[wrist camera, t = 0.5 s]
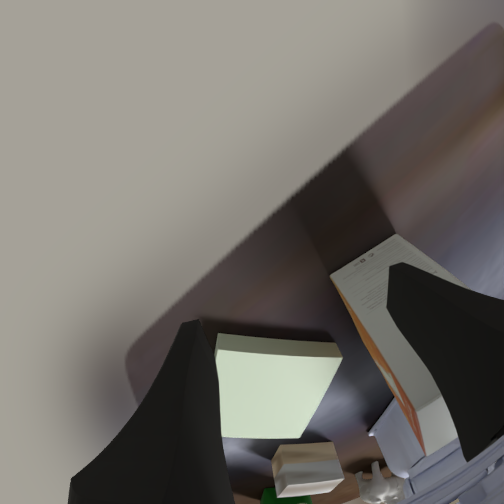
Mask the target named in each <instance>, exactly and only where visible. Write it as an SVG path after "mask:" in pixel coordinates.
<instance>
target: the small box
mask: <svg viewBox="0 0 504 504" xmlns="http://www.w3.org/2000/svg"><path fill="white" fill-rule="evenodd" d="M400 262H404V263H407V264H409V265H412V266H415V267H417V268H419V269H422V270H424V271H426V272H429V273H431V274H433V275H435V276H438V277H440V278H442V279H445V280H447V281H449V282H452V283H454V284H457V285H459V286H462V287H464V288H467V289H469V290H471V289H470V288H468V287H467V286H466V285H465V284H463V283H462V282H461V281H460V280H458V279H457V278H456V277H455V276H453V275H452V274H451V273H449V272H448V271H447V270H445V269H444V268H443V267H441V266H440V265H439V264H437V263H436V262H435V261H433V260H432V259H431V258H429V257H428V256H427V255H425V254H424V253H423V252H421V251H420V250H419V249H417V248H416V247H415V246H413V245H412V244H410V243H409V242H408V241H406V240H405V239H403V238H402V237H401V236H399V235H398V234H394V235H393V236H391V237H390V238H388V239H387V240H385V241H383V242H382V243H380V244H379V245H377V246H376V247H374V248H373V249H371V250H369V251H368V252H366V253H365V254H363V255H361V256H360V257H358V258H357V259H355V260H353V261H352V262H350V263H349V264H347V265H345V266H344V267H342V268H341V269H339V270H337V271H336V272H334V273H332V274H331V275H330V279H331V280H332V282H333V284H334V285H335V287H336V289H337V290H338V292H339V294H340V296H341V298H342V300H343V302H344V304H345V306H346V308H347V310H348V311H349V313H350V315H351V317H352V320H353V322H354V324H355V326H356V328H357V330H358V332H359V335H360V337H361V339H362V341H363V343H364V345H365V346H366V348H367V349H368V351H369V353H370V355H371V356H372V358H373V360H374V361H375V363H376V365H377V367H378V368H379V370H380V371H381V373H382V375H383V377H384V378H385V380H386V382H387V384H388V386H389V388H390V389H391V391H392V393H393V395H394V396H395V398H396V400H397V402H398V404H399V406H400V408H401V410H402V411H403V413H404V415H405V417H406V419H407V421H408V422H409V424H410V426H411V428H412V430H413V432H414V434H415V436H416V438H417V440H418V442H419V444H420V446H421V448H422V450H423V452H424V454H425V456H429V455H430V454H432V453H434V452H435V451H437V450H439V449H440V448H442V447H443V446H445V445H446V444H448V443H449V442H451V441H452V440H454V439H455V438H457V437H458V435H457V431H456V428H455V426H454V423H453V420H452V418H451V415H450V412H449V410H448V408H447V405H446V403H445V401H444V399H443V397H442V395H441V392H440V390H439V389H438V387H437V385H436V383H435V381H434V379H433V377H432V375H431V374H430V372H429V370H428V369H427V367H426V366H425V365H424V363H423V362H422V360H421V359H420V358H419V356H418V355H417V354H416V352H415V351H414V350H413V348H412V347H411V345H410V344H409V343H408V341H407V340H406V339H405V337H404V336H403V335H402V333H401V332H400V331H399V329H398V328H397V326H396V324H395V323H394V321H393V319H392V317H391V316H390V314H389V312H388V310H387V308H386V304H387V292H388V277H389V266H391V265H394V264H397V263H400Z"/></svg>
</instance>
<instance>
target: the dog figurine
mask: <svg viewBox="0 0 504 504" xmlns="http://www.w3.org/2000/svg"><path fill="white" fill-rule="evenodd" d="M371 466H372V472H373V478H372V479H368V480H365V479H363V478H362V473H363V471H361V472H358V473H356V474H355V477H356V479H357V482H358V486H359V489H360V497H361V499H362V500H363V501H365V502H368V503H372V504H379V503H380V502H384V503H385V504H396V503H398V502H400V501H402V500H404V499H406V498H405V495H404V492H403V484H404V481H405V480H404V478H401V477H398V476H397V475H395V474H394V473H393V472H392V471H391V472H392V475H391V477H390V478H384V477H383V476H382V475H381V474H382V473H380V468H379V464H378V461H376V462H374V463H372V464H371Z"/></svg>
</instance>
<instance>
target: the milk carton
mask: <svg viewBox="0 0 504 504" xmlns="http://www.w3.org/2000/svg"><path fill="white" fill-rule="evenodd" d="M260 504H312V500H311V497H310V495H303V496H292V497H279V498H277V493H276V487H274V488H265V489H264V492H263V495H262V498H261V500H260Z"/></svg>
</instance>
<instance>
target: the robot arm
mask: <svg viewBox="0 0 504 504" xmlns="http://www.w3.org/2000/svg"><path fill="white" fill-rule="evenodd" d="M386 308H387V310H388V312H389V314H390V316H391V317H392V319H393V321H394V323H395V324H396V326H397V328H398V329H399V331H400V332H401V333H402V335H403V336H404V337H405V339H406V340H407V341H408V343H409V344H410V345H411V347H412V348H413V350H414V351H415V352H416V354H417V355H418V356H419V358H420V359H421V360H422V362H423V363H424V365H425V366H426V367H427V369H428V370H429V372H430V374H431V375H432V377H433V379H434V381H435V383H436V385H437V387H438V389H439V390H440V392H441V395H442V397H443V399H444V401H445V403H446V405H447V408H448V410H449V412H450V415H451V418H452V420H453V423H454V426H455V428H456V431H457V435H458V437H457V438H455V439H454V440H452V441H451V442H449V443H448V444H446V445H445V446H443V447H442V448H440V449H439V450H437V451H435V452H434V453H432V454H430V455H429V456H425V454H424V452H423V450H422V448H421V446H420V444H419V442H418V440H417V438H416V436H415V434H414V432H413V430H412V428H411V426H410V424H409V422H408V421H407V419H406V417H405V415H404V413H403V411H402V410H401V408H400V406H399V404H398V402H397V400H396V398H395V397H394V399H393V400H392V402H391V403H390V404H389V406H388V407H387V409H386V410H385V411H384V413H383V414H382V415H381V417H380V418H379V420H378V421H377V422H376V423H375V425H374V426H373V427H372V429H371V430H370V431H369V433H368V434H369V436H373V435H375V438H376V440H377V442H378V445H379V447H380V449H381V452H382V454H383V456H384V459H385V461H386V463H387V466H388V467H389V469H390V470H391V471H392V472H393V473H394V474H395V475H397V476H398V477H401V478H406V479H405V481H404V484H403V492H404V495H405V498H406V499H404V500H402V501H400V502H398V503H396V504H449V503H451V502H452V501H454V500H456V499H457V498H458V499H459V502H458V503H456V504H504V300H501V299H497V298H494V297H490V296H487V295H484V294H481V293H478V292H475V291H472V290H469V289H467V288H464V287H462V286H459V285H457V284H454V283H452V282H449V281H447V280H445V279H442V278H440V277H438V276H435V275H433V274H431V273H429V272H426V271H424V270H422V269H419V268H417V267H415V266H412V265H409V264H407V263H404V262H400V263H397V264H394V265H391V266H389V277H388V292H387V304H386ZM495 462H496V463H495ZM68 504H235V501H234V497H233V493H232V489H231V485H230V480H229V476H228V471H227V466H226V461H225V455H224V450H223V444H222V434H221V414H220V392H219V379H218V372H217V366H216V360H215V356H214V354H213V352H212V349H211V347H210V345H209V343H208V340H207V338H206V336H205V333H204V331H203V329H202V326H201V324H200V321H199V319H197V320H193V321H189V322H184V323H182V324H181V326H180V328H179V330H178V332H177V335H176V337H175V339H174V342H173V344H172V346H171V348H170V350H169V353H168V355H167V357H166V359H165V361H164V363H163V365H162V367H161V369H160V371H159V373H158V375H157V377H156V378H155V380H154V382H153V384H152V386H151V388H150V389H149V391H148V393H147V394H146V396H145V398H144V399H143V401H142V402H141V404H140V405H139V407H138V408H137V410H136V411H135V413H134V414H133V416H132V417H131V418H130V420H129V421H128V422H127V423H126V425H125V426H124V427H123V428H122V430H121V431H120V432H119V433H118V435H117V436H116V437H115V438H114V439H113V441H111V443H110V444H109V445H108V446H107V447H106V448H105V449H104V450H103V451H102V452H101V453H100V454H99V455H98V456H97V457H96V458H95V459H94V460H93V461H91V462H90V463H89V464H88V465H87V466H86V467H85V468H83V469H82V470H81V471H80V472H78V473H77V474H76V475H75V476H74V477H72V478H71V482H70V490H69V498H68Z"/></svg>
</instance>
